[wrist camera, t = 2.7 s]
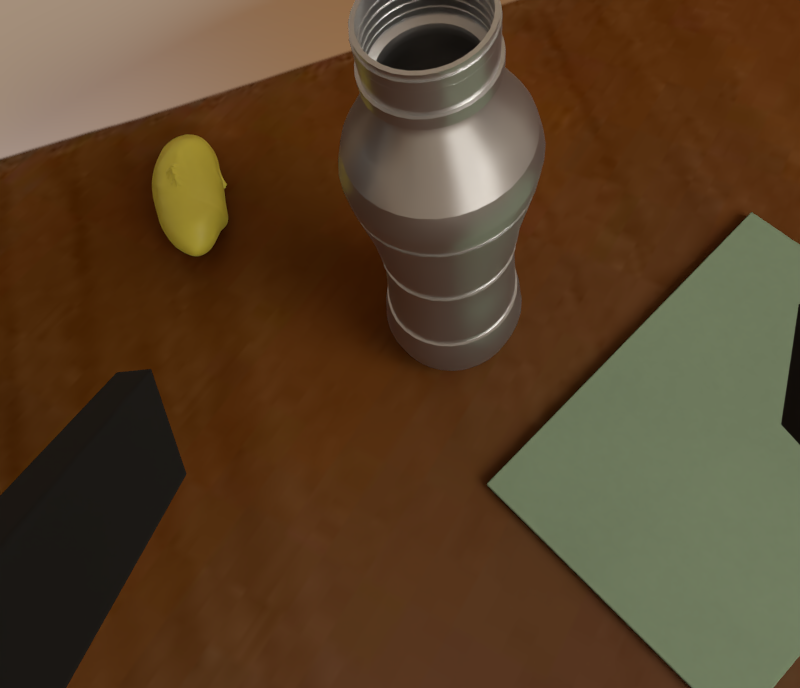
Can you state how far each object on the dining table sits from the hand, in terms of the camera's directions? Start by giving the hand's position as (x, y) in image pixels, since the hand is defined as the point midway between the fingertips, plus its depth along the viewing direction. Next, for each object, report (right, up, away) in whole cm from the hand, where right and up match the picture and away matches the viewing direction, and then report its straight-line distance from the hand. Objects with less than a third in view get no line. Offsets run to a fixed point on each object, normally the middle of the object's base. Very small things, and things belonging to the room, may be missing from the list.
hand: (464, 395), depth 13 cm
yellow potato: (-13, +9, +25) cm, 30 cm away
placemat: (+15, -4, +17) cm, 23 cm away
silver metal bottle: (+2, +2, +21) cm, 21 cm away
